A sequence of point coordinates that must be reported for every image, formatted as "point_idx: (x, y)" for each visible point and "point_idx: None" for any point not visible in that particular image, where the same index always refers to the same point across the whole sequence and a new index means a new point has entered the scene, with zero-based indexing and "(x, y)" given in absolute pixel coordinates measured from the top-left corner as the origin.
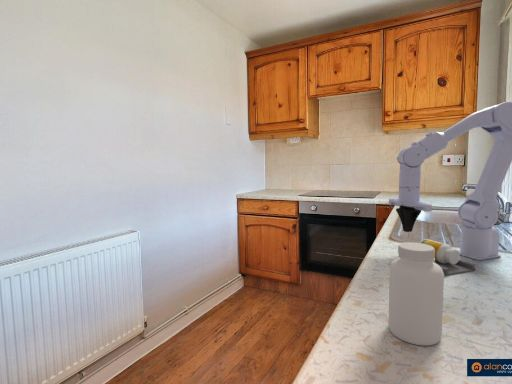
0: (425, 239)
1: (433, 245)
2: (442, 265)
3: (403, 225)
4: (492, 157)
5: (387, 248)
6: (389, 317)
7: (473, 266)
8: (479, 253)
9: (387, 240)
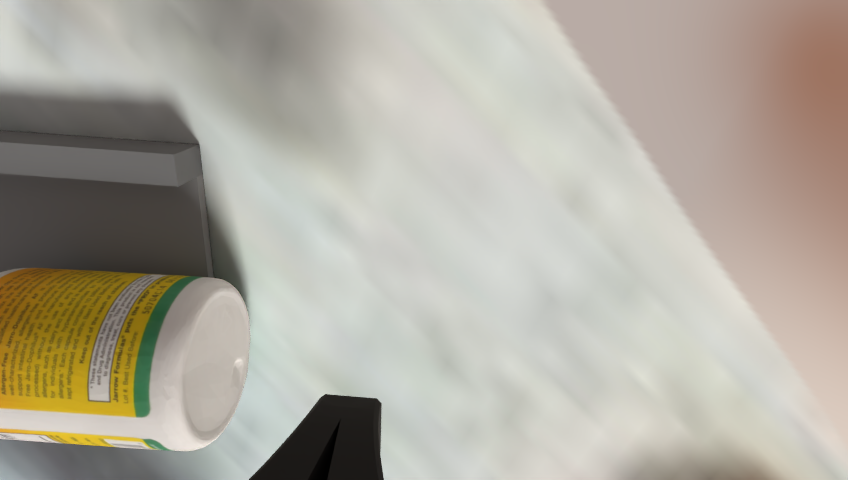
0: (151, 408)
1: (18, 342)
2: (42, 263)
3: (346, 445)
4: None
5: (570, 260)
6: None
7: None
8: None
9: (744, 436)
